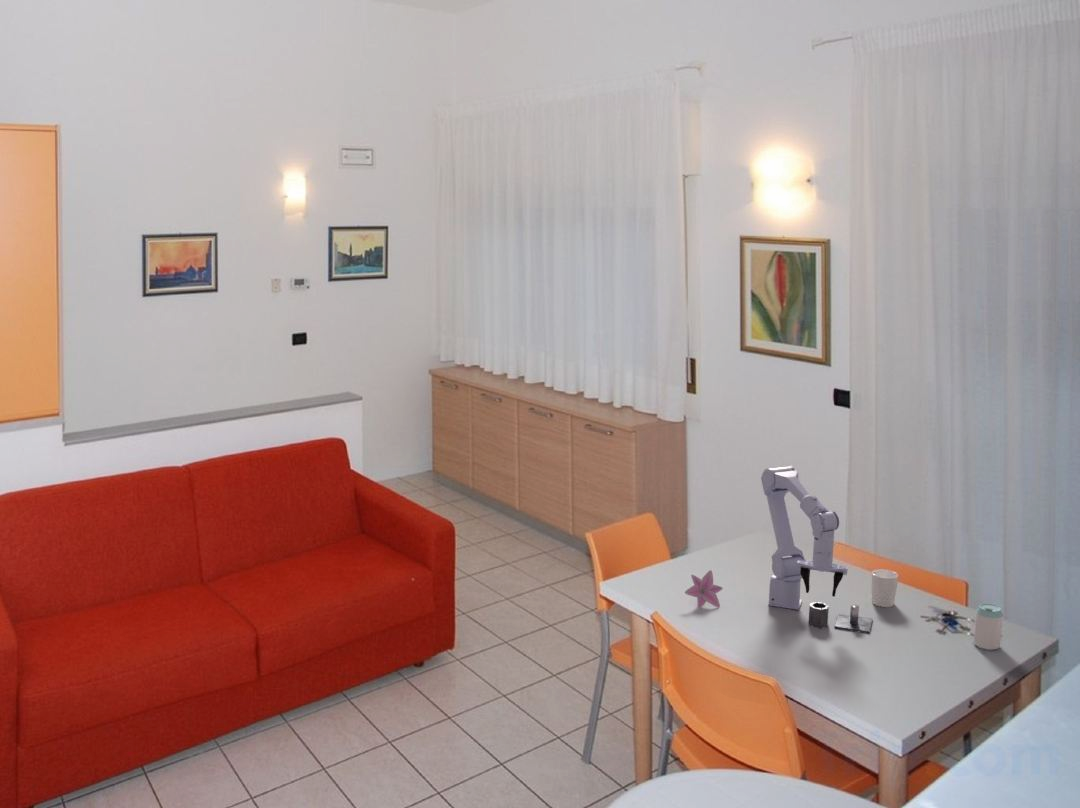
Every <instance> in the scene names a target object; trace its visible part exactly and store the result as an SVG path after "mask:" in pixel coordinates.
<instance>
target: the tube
mask: <svg viewBox="0 0 1080 808" xmlns="http://www.w3.org/2000/svg"><path fill="white" fill-rule="evenodd" d="M829 607H830V605H829V604H827V603H825V602H823V601H822V602H821V601H820V602H819V601H814V602H810V604H809V608H808V609H809V610H808V612H809V613H808V625H809V624H810V626H811V625H812V626H813V628H816V627H819V628H818V629H823V627H824V628H827V627H828V625H827V624H829V609H830V608H829ZM812 626H811V627H812Z"/></svg>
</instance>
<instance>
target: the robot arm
mask: <svg viewBox="0 0 1080 808" xmlns="http://www.w3.org/2000/svg"><path fill="white" fill-rule="evenodd" d="M760 480H761V485H762V489H763V490H762V491H763V494H764V495H765V496H766V501H767V504H768V509H769V513H770V514H769V515H770V518H771V523H772V528H773V532H774V537H775V541H776V546H777V549H776V550H774V553H772V555H771V561H772V563H771V568H772V569H771V570H772V572H773V574H771V577H770V581H769V593H768V604H767V605H768V606H771V607H776V608H777V607H778V608H784V609H791V610H797V611H799V610H800V608H801V606H802V603H803V599H802V598H801V597H800V596H801V583H802V581H801V579H802V580H803V583H804V588H805V593H808V594H809V591H810V577H811V576H810V575H811V571H817V572H822V573H823V572H827V573H834V574H833V584H832V585H833V587H832V597H836V592H837V589H838V587H839V585H840V583H841V581H842V579H843V577H844V576H847V575H848V569H849V567H848V566H845V565H844V566H843V565H839V564H837V563H836V564H835V563H833V558H834V545H835V544H834V542H835V531H836V530H838V528H839V527H840V518H839V516H838V514H837V513H836V511H835V510H831V509H827V508H826V506H825V505H824V504H823V503H822V502H821V501H820V500H819V498H818V497H817V496H816V495H815V494H814V495H813V494H809V493H808V491H807V489H806V488H805V487H804V485H803V484H802V483H801V481H800V479H799V473H798V471H797V470H796V469H795V467H794V466H793V465H788V466H781V467H774V468H773V467H772V468H765V469H764V470H763V472H762V475H761V477H760ZM787 493H790V494H791V495H792V496H794V497H795V499H797V500H798V502H800V503H799V508H800V509H801V510H802V512H803V513H804V514H805V515H806V516H807V518H808V519H809V520H810V526H811V528H812V529H811V530H812V536H813V553H812V560H807V559H806V558H805V556H804V552H803V551H802V550H801V548H798V546H795V542H794V539H793V534H792V529H791V524H790V519H789V515H788V511H787V506H786V502H785V496H786V494H787Z"/></svg>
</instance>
